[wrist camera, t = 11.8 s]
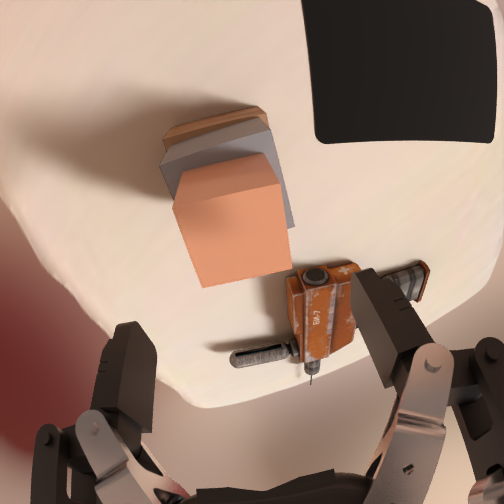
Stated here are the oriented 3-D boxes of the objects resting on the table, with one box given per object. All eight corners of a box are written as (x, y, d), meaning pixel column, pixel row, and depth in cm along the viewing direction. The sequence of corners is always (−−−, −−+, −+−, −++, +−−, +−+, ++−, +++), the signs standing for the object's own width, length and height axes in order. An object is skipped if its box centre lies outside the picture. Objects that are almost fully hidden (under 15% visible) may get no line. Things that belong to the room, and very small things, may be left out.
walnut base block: (171, 127, 24) (162, 139, 20) (257, 105, 24) (266, 113, 20) (195, 202, 29) (192, 226, 25) (273, 183, 29) (283, 205, 25)
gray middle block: (170, 145, 21) (159, 165, 17) (259, 117, 20) (270, 129, 16) (200, 220, 25) (198, 255, 21) (280, 196, 24) (294, 226, 20)
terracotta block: (182, 171, 17) (172, 208, 13) (263, 152, 17) (280, 183, 13) (203, 238, 20) (202, 288, 16) (276, 222, 20) (292, 268, 16)
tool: (438, 254, 33) (209, 309, 31) (396, 366, 49) (245, 409, 47) (422, 238, 36) (207, 285, 35) (388, 350, 52) (241, 390, 50)
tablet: (492, 8, 15) (493, 143, 27) (488, 8, 16) (490, 142, 28) (293, -45, 15) (316, 144, 27) (292, -43, 16) (314, 143, 27)
